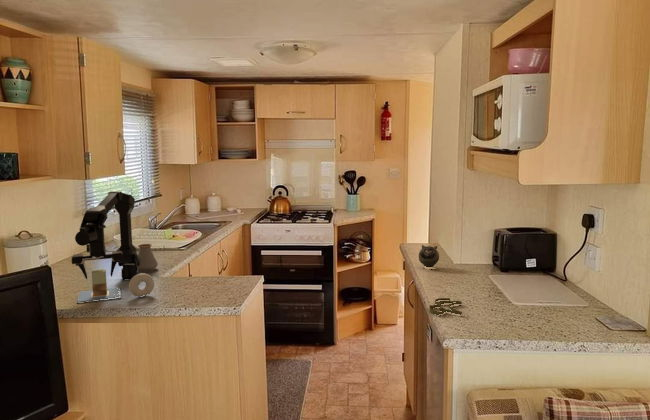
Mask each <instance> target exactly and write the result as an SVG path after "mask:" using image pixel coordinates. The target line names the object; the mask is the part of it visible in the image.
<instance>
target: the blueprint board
mask: <svg viewBox="0 0 650 420" xmlns="http://www.w3.org/2000/svg"><path fill="white" fill-rule="evenodd" d="M117 288H118V289H117ZM119 289H120V287H113V288H107V295H102V296H93V289H92V290H84V291H83V290H82V291H79V294H78V297H77V302H76V304H77V303H78V302H86V301H93V300H100V299H108V298H115V297H119V296H121V297H122V294H121V295H119V294H118V293H119V292H118V291H120V290H119ZM114 294H115V295H114ZM117 294H118V295H117Z"/></svg>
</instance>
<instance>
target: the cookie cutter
mask: <svg viewBox="0 0 650 420" xmlns="http://www.w3.org/2000/svg"><path fill="white" fill-rule="evenodd" d="M438 300H449V301H440V302H439V303H438V302H436V301H438ZM453 302H456V303H453ZM444 303H452V304H450V305H448V308H445V307H442V306H441V304H444ZM435 304H437V305H435ZM454 304H462V305H463V302H462V300H451V298H449V297H440V298H439V297H438V298H435V299H434V304H433V305H431V304H430V305H429V308H428V309H429V313H430V314H432V315H434V314H436V315H439V314H443V313H444V312H446V311H447V312H451V313H455V314H460V315H461V314H462V315H463V311H460V310H457V309H455V308H453V307H452V308H451V307H450V306H451V305H454ZM435 307H441V308H439V309H438V310H439V311H442V312H439V311H438V310H436V309H434V310H433V308H435ZM449 308H450V309H451V310H452V311H451V310H449ZM436 315H435V316H436Z"/></svg>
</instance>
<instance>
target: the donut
mask: <svg viewBox="0 0 650 420" xmlns="http://www.w3.org/2000/svg"><path fill="white" fill-rule="evenodd" d="M143 282H144V283H145V287H143V288H139V287H138V285H139V283H143ZM154 288H155V280H154V279H153V277H152V276H151V275H150V274H148V273H146V272H139V273H137V275H135V276H134V277H133V278H132V279H131V280H130V281H129V284H128V289H129V292H130V293H131V295H133V296H134V297H136V296H143V295H147V294H149V295H150V294H151V293H152V292H153V290H154ZM147 296H148V295H147Z"/></svg>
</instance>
